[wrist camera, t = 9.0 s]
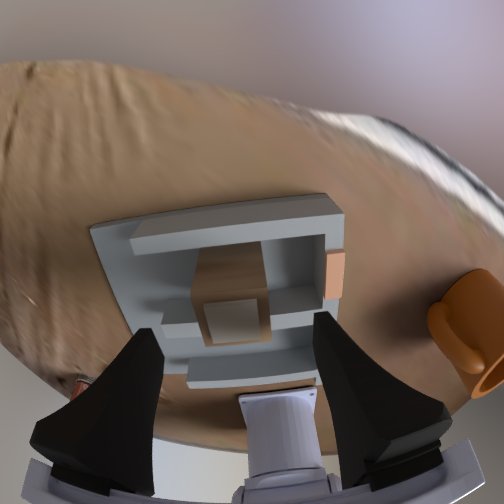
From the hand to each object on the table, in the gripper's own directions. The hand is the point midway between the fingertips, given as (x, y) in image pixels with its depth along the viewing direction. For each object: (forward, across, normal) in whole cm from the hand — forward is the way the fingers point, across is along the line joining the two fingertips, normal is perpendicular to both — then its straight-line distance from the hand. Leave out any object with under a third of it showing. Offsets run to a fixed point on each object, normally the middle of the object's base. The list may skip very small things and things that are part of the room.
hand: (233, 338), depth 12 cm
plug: (+6, 0, 0) cm, 6 cm away
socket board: (+7, +2, +4) cm, 8 cm away
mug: (+8, -21, +8) cm, 23 cm away
